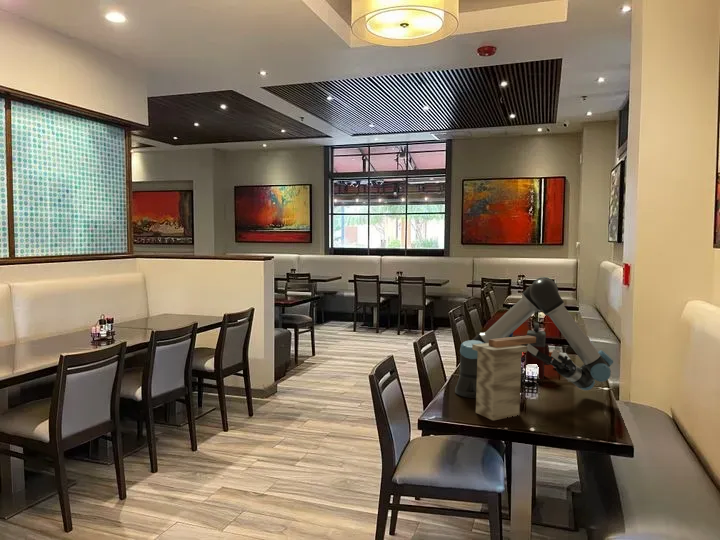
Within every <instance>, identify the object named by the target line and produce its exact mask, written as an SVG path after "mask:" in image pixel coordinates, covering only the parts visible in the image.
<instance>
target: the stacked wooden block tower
mask: <svg viewBox="0 0 720 540" xmlns="http://www.w3.org/2000/svg"><path fill="white" fill-rule="evenodd" d="M472 349H473V350H476V351H478V356H477V386H476V398H475V414H478V415H480V416H482V417H484V418H487V419H489V420H490V421H497V420H502V419H507V417H508V418H512V416H513V417H518V416H520V408H521V407H520V405H521V404H520V403H521V402H520V401H521V377H522V376H521V375H522V367H521V356H522V352H527V346H526V345H525V344H521V345H512V346H503V347H493V346H489V343H481V344H472ZM517 415H518V416H517Z"/></svg>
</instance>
